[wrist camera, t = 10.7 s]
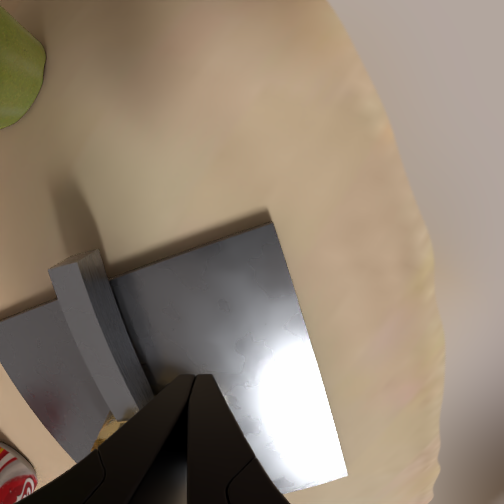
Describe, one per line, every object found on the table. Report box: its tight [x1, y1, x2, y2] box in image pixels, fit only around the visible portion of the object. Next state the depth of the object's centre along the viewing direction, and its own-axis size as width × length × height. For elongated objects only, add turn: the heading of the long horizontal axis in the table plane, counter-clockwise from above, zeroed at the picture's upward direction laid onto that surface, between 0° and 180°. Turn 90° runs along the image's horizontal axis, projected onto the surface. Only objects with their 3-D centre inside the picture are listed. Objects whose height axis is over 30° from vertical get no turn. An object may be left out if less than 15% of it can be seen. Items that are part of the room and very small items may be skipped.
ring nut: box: [48, 249, 156, 452], centre depth 15 cm, size 17×8×4 cm, turn 12°
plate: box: [0, 221, 348, 494], centre depth 18 cm, size 22×22×1 cm
